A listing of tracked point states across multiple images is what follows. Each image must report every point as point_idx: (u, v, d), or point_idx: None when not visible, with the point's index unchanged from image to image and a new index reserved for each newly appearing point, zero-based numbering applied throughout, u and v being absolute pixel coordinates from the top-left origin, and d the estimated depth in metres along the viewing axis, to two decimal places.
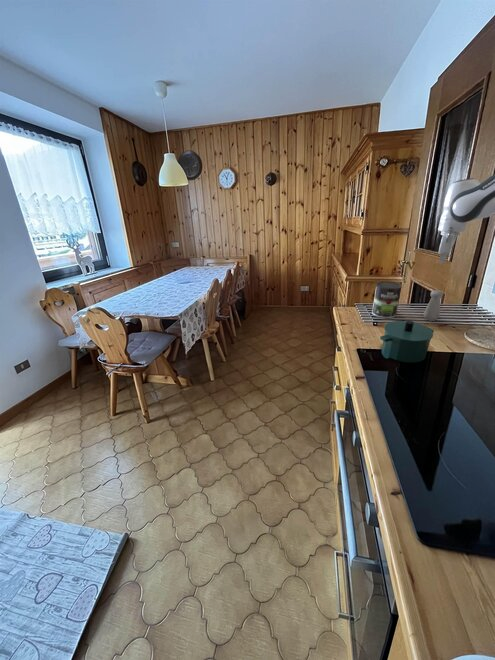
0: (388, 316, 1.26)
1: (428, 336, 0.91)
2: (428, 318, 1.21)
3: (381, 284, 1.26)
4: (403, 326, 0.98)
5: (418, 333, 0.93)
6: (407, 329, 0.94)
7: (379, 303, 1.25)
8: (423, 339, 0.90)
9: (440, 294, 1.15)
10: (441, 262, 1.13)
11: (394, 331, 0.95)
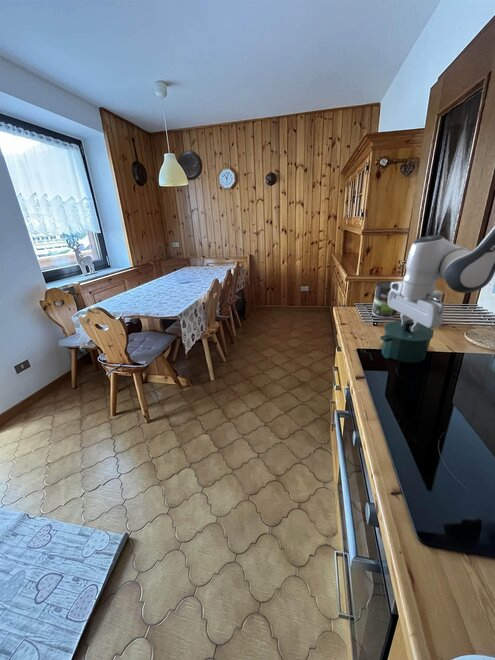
0: (388, 316, 1.26)
1: (428, 336, 0.91)
2: None
3: (381, 284, 1.26)
4: None
5: (418, 333, 0.93)
6: (407, 329, 0.94)
7: (379, 303, 1.25)
8: (423, 339, 0.90)
9: (440, 294, 1.15)
10: (414, 330, 0.93)
11: (394, 331, 0.95)
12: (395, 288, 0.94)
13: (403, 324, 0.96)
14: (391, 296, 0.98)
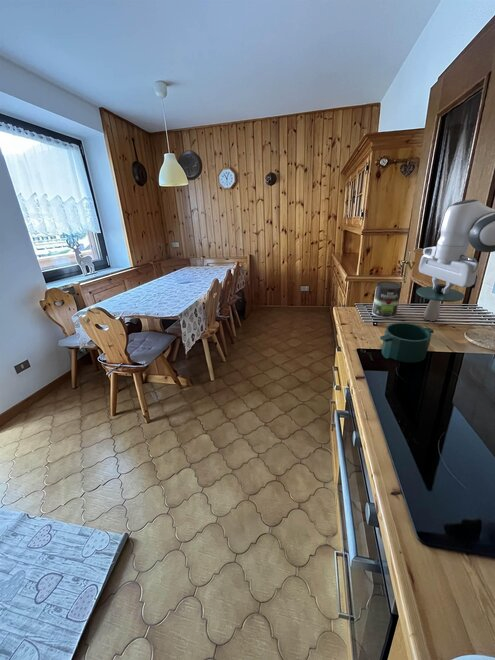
0: (388, 316, 1.26)
1: (460, 297, 0.97)
2: (428, 318, 1.21)
3: (381, 284, 1.26)
4: (434, 290, 1.04)
5: (450, 295, 1.00)
6: (439, 292, 1.01)
7: (379, 303, 1.25)
8: (455, 299, 0.96)
9: None
10: (446, 292, 0.99)
11: (426, 294, 1.02)
12: (428, 253, 1.00)
13: (435, 287, 1.03)
14: (423, 262, 1.04)
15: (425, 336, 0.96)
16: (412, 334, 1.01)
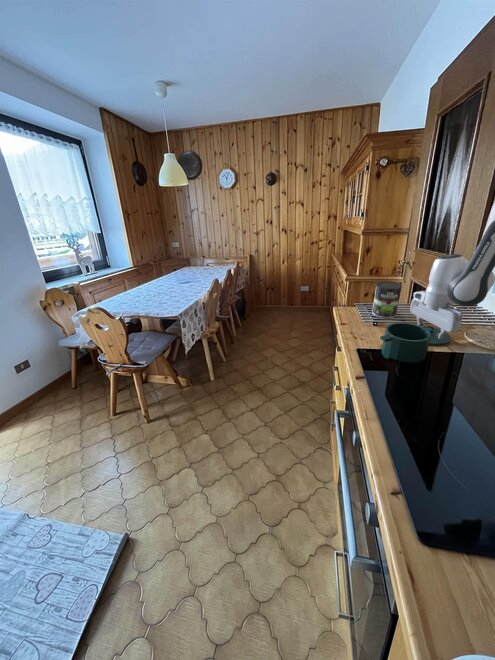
0: (388, 316, 1.26)
1: (447, 339, 1.05)
2: None
3: (381, 284, 1.26)
4: None
5: None
6: None
7: (379, 303, 1.25)
8: (443, 342, 1.04)
9: None
10: (441, 337, 1.04)
11: None
12: (418, 297, 1.08)
13: (419, 325, 1.13)
14: (414, 304, 1.12)
15: (425, 336, 0.96)
16: (412, 334, 1.01)
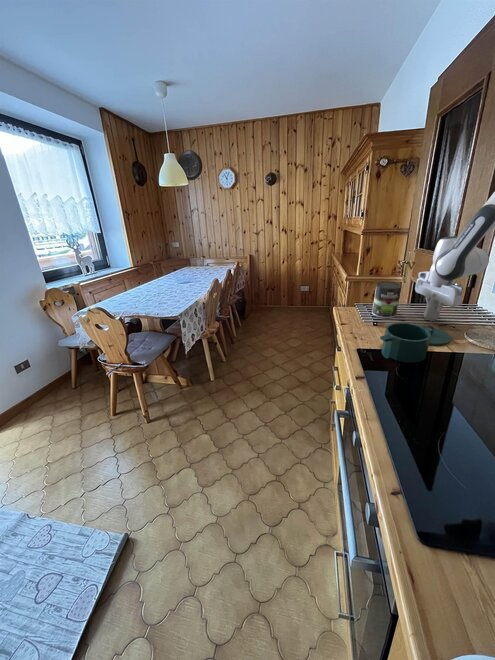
0: (388, 316, 1.26)
1: (447, 339, 1.05)
2: (428, 318, 1.21)
3: (381, 284, 1.26)
4: None
5: (438, 337, 1.07)
6: None
7: (379, 303, 1.25)
8: (443, 342, 1.04)
9: None
10: (438, 310, 1.18)
11: None
12: (423, 277, 1.19)
13: None
14: (418, 283, 1.23)
15: (425, 336, 0.96)
16: (412, 334, 1.01)
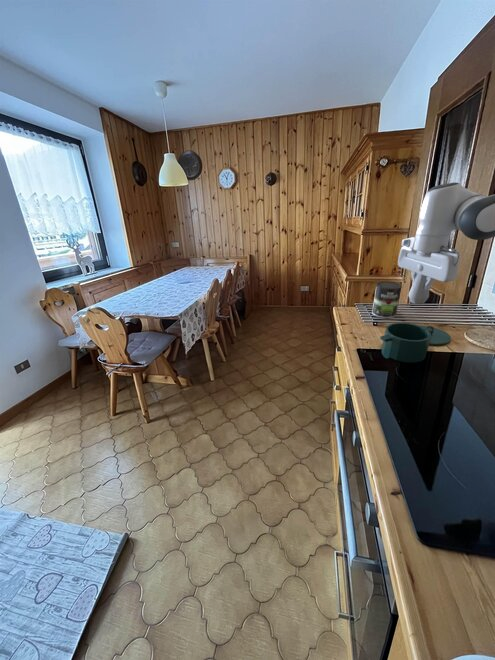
0: (388, 316, 1.26)
1: (447, 339, 1.05)
2: (414, 300, 0.92)
3: (381, 284, 1.26)
4: None
5: (438, 337, 1.07)
6: None
7: (379, 303, 1.25)
8: (443, 342, 1.04)
9: None
10: (427, 288, 0.89)
11: None
12: (407, 244, 0.90)
13: None
14: (402, 255, 0.94)
15: (425, 336, 0.96)
16: (412, 334, 1.01)
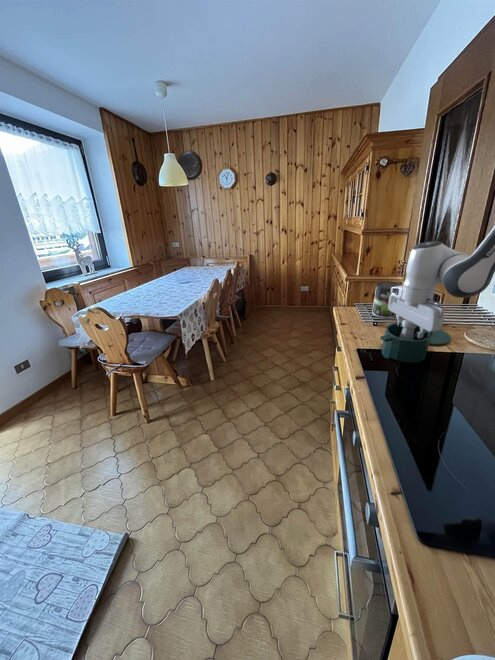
0: (388, 316, 1.26)
1: (447, 339, 1.05)
2: None
3: (381, 284, 1.26)
4: None
5: (438, 337, 1.07)
6: None
7: (379, 303, 1.25)
8: (443, 342, 1.04)
9: (413, 325, 0.93)
10: (420, 336, 0.92)
11: None
12: (395, 293, 0.95)
13: (399, 325, 1.00)
14: (392, 300, 1.00)
15: (425, 336, 0.96)
16: None
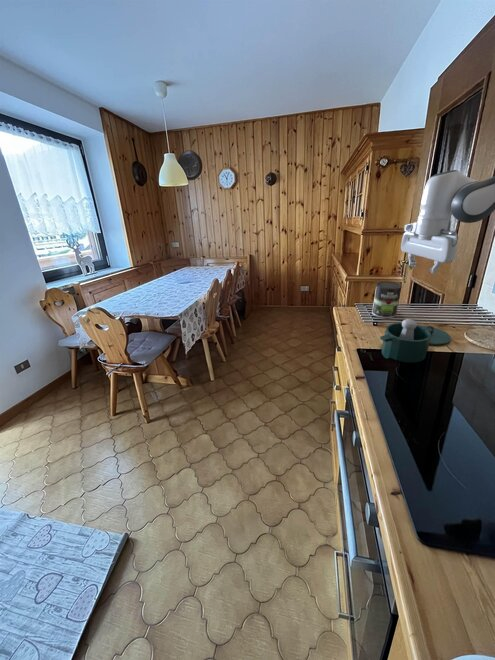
0: (388, 316, 1.26)
1: (447, 339, 1.05)
2: None
3: (381, 284, 1.26)
4: None
5: (438, 337, 1.07)
6: None
7: (379, 303, 1.25)
8: (443, 342, 1.04)
9: (413, 325, 0.93)
10: (434, 271, 0.93)
11: None
12: (409, 229, 0.97)
13: (411, 264, 1.01)
14: (405, 240, 1.01)
15: (425, 336, 0.96)
16: None
